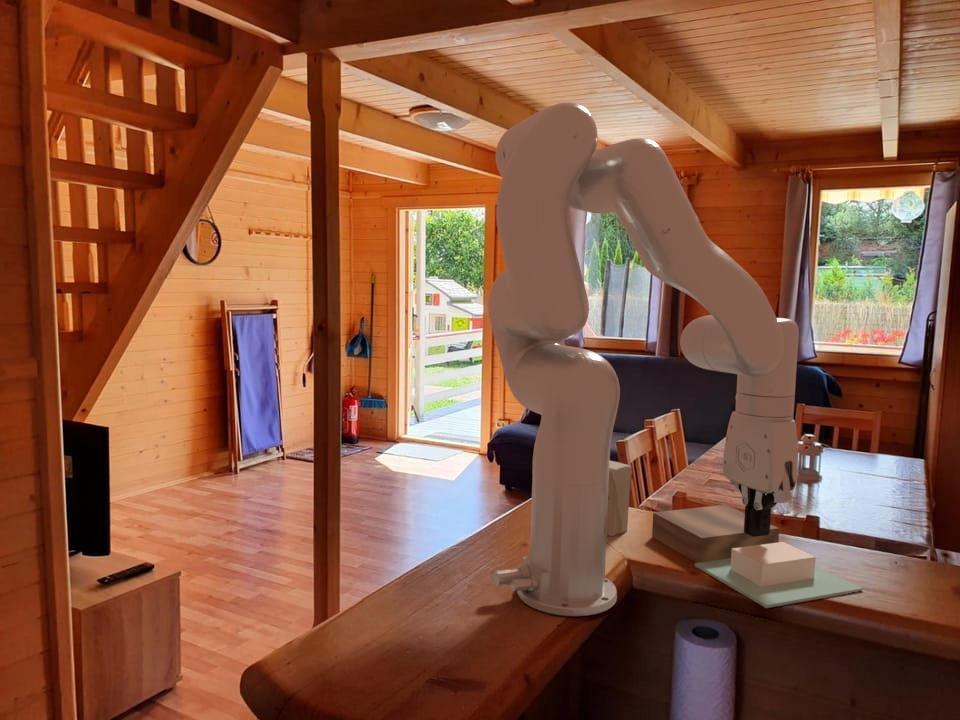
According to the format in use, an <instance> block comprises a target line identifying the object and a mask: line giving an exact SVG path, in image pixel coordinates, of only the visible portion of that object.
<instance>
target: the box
mask: <svg viewBox="0 0 960 720" xmlns="http://www.w3.org/2000/svg"><path fill="white" fill-rule="evenodd" d="M631 473H632V466H631V465H630V464H625V463H622V462H619V461H613V460H610V462H609V486H608V512H607V536H609V537H615V536H617V535H620V534H623V533H625V532H628V522H629V521H628V520H629V507H630V492H631V491H630V489H631V476H632V474H631Z"/></svg>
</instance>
